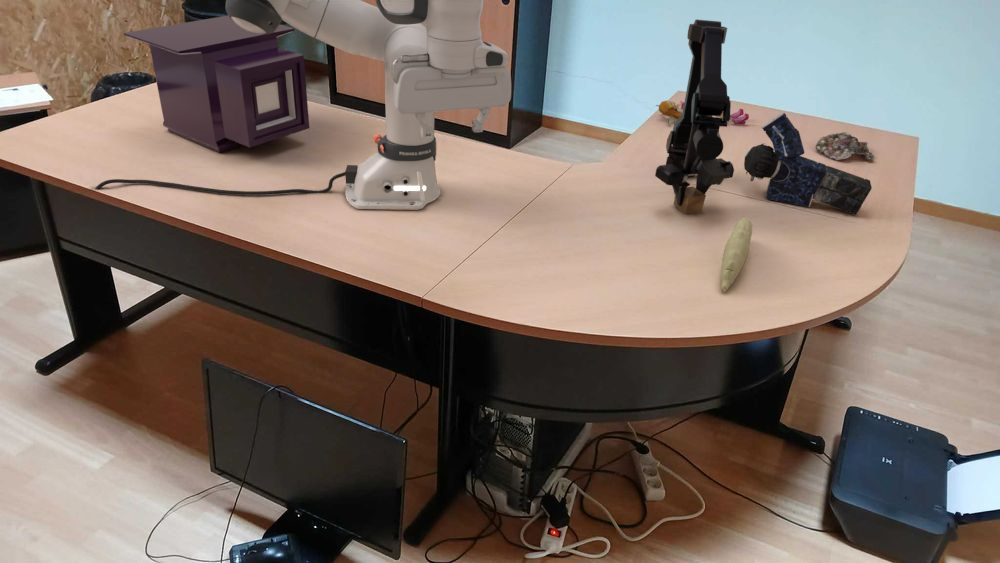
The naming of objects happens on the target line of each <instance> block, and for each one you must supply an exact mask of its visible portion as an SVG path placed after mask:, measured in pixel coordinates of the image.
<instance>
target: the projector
mask: <svg viewBox="0 0 1000 563" xmlns="http://www.w3.org/2000/svg"><path fill="white" fill-rule="evenodd" d="M294 31H295V28H294V27H292V26H287V25H283V24H281V23H280V24H279V26H278V27H277V29H276V30H275V31H274V32H273V33H270V34H258V33H252V32H249V31H246V30H244V29H243V28H241V27H240V26H238V25H237V24H236V23H235V22H234V21H233V20H231V19H230V18H229V16H228V15H224V16H217V17H212V18H205V19H200V20H194V21H188V22H181V23H175V24H169V25H163V26H157V27H151V28H146V29H145V28H144V29H139V30H134V31H128V32H123V36H125V37H127V38H130V39H133V40H136V41H138V42H142V43H145V44H148V45H149V50H150V54H151V60H152V66H153V71H154V75H155V76H154V77H155V82H156V87H157V92H158V97H159V102H160V107H161V113H162V118H163V122H162V126H163V127H165V128H166V129H167V131H168V132H170V133H172V134H175V135H177V136H179V137H182V138H184V139H187V140H189V141H191V142H193V143H196V144H197V145H200V146H203V147H205V148H207V149H209V150H212V151H215V152H217V153H219V154H220V153H224V152H227V151H229V150H233V149H235V148H237V144H240V145H242V146H245V147H247V148H249V149H250V148H253V147H256V146H259V145H262V144H266V143H269V142H271V141H275V140H278V139H281V138H285V137H287V136H289V135H293V134H296V133H300V132H302V131H305V130H308V129H310V118H309V105H308V94H307V93H308V92H307V80H306V79H307V78H306V68H305V56H304V54H303V53H302V54H301V53H297V52H296V51H295V52H294V51H291V50H288V49H285V48H282V47H279V44H278V40H277V38H280V37H282V36H286V35H287V34H291V33H292V32H294Z"/></svg>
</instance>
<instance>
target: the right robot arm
mask: <svg viewBox="0 0 1000 563" xmlns="http://www.w3.org/2000/svg"><path fill="white" fill-rule="evenodd" d="M727 32H728V27H726V26H722V21H720V20H719V21H718V20H708V19H694V22H693V23H689V25H688V29H687V36H686V37H687V40H688V46H689V47H688V48H689V50H690V53H691V56H692V58H691V62H690V70H689V75H688V81H687V85H686V92H685V97H684V101H683V102H684V107H683V113H682V115H681V116H680V117H679V119H678V120H677V121H676V122H673V128H672V130H670V132H669V134H668V136H667V139H666V145H665V149H666V153H667V154H668V155H667V156H666V162H665V164H662V165H659V166H657V167H656V169H655V177H656V178H657V179H659V180H660V181H661V182H663V183H664V184H665V185H666V186H671V187H672V190H673V193H674V198H675V197H676V201H677V204H678V205H679V206H681V205H682V202H683V198H684V194H685V190H686V187H690V186H691V183H689V182H688V178H692V177H696V183H695V188H696V189H698V190H699V191H700V192H702V193H703V194H705V195H706V193H707V192H708V190H709V189H710V188H711V187H712V186H714V185H718V186H719V185H721V184H722V183H723V181H724V180H725V179H730V178H733V177H734V173H735V168H734V164H733V163H732V162H731V161H730V160H728V161H726V160H725V159H723V158H721V157H720V158H718V157H719V156H720V155H721V154H722V152H723V150H724V142H723V139H722V137H721V135H720V127H725V128H727V127H728V122H730V121H731V120H730V115H731V107H732V105H731V104H732V102H731V99H730V96H729V95H728V85H727V83H726V82H725V81H724V80H723V78H722V60H723V59H722V57H723V56H722V53H723V52H722V51H723V50H722V49H723V44H725V42H726V39H727V38H726V37H727ZM722 112H723V118H720V117H716V116H721V114H722Z"/></svg>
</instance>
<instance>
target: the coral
mask: <svg viewBox="0 0 1000 563" xmlns="http://www.w3.org/2000/svg"><path fill="white" fill-rule="evenodd" d="M815 150H816V151H817V152H818V153H824V155H825V156H827V157H828V158H830V159H832V160H835V161H839V160H840V161H841V160H844V159H848V158H851V157H852V155H853V154H854V155H857V154H859V155H860V156H861V158H863V159H865V160H866V161H871V162H874V160H875V159H874V158H875V155H874V154H873V153H872V152H871V151H870V149H869V147H868V142H867V141H859V139H858V137H855V136H853V135H852V134H851V133H849V132H848V131H846V132H844V131H843V132H836V133H830V134H827V135H826V136H822V137H820V138H819V140H818V141H817V142H816V144H815ZM873 157H874V158H873Z"/></svg>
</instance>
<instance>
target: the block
mask: <svg viewBox="0 0 1000 563" xmlns="http://www.w3.org/2000/svg"><path fill="white" fill-rule="evenodd" d="M705 200H706V193H705V194H703V193H702V192H700V191H699V190H698V189H696V186H688V187H686V190H685V194H684V198H683V202H682V205H681V206H679V205H678V204H677V201H676V197H675V196H674V199H673V206H674V207H676V208H677V209H678V210H680V211H681V212H683V213H684V214H685V215H688V214H695V213H700V212H703V208H704V206H705Z"/></svg>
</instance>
